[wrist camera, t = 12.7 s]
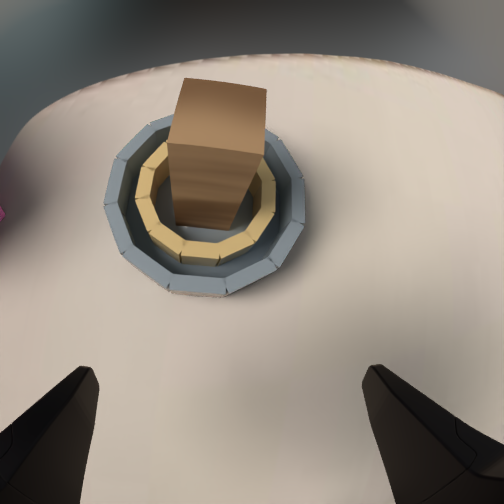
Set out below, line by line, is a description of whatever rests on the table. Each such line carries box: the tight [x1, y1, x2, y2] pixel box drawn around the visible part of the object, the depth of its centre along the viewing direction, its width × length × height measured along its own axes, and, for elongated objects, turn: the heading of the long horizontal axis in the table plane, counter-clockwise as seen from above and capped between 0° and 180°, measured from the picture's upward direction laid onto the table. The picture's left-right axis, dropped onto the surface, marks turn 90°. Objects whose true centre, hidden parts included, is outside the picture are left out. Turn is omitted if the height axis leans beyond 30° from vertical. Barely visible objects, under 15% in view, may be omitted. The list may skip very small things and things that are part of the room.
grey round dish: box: [104, 114, 305, 298], centre depth 21 cm, size 14×14×4 cm
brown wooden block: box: [167, 78, 267, 231], centre depth 17 cm, size 4×4×11 cm
